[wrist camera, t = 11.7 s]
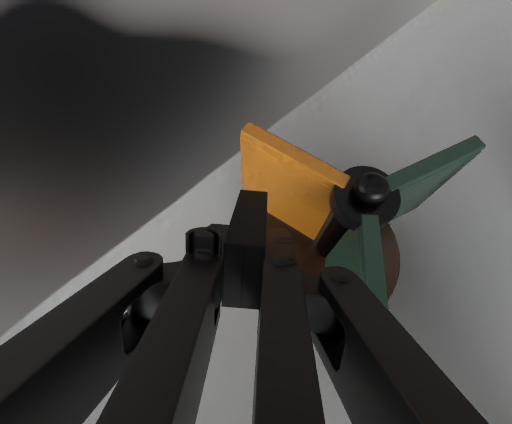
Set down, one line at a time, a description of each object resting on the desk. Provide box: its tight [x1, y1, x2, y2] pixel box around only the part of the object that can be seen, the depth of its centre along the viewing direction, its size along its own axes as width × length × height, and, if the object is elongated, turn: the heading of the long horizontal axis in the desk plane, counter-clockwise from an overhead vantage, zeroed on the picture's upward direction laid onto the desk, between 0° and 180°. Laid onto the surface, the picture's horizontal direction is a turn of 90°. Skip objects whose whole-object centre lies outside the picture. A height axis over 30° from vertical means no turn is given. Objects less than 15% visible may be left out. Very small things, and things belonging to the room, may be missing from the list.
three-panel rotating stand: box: [240, 122, 486, 309], centre depth 20 cm, size 14×14×11 cm
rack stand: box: [266, 211, 400, 301], centre depth 26 cm, size 12×12×1 cm
